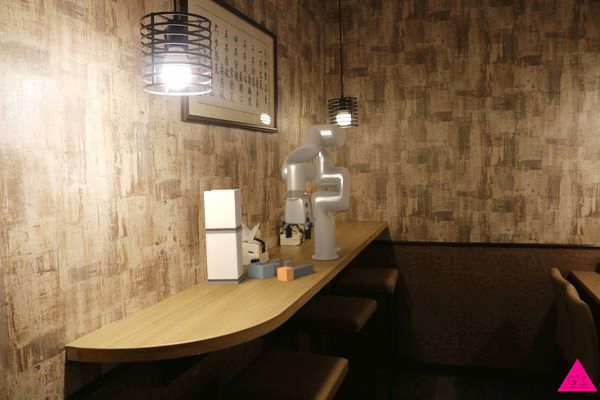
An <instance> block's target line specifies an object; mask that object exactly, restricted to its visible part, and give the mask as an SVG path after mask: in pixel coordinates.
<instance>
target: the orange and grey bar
mask: <svg viewBox="0 0 600 400" xmlns="http://www.w3.org/2000/svg"><path fill="white" fill-rule="evenodd" d="M277 273H278V275H277V281H282V282H291V281H294V280H295V279H298V278H302V277H305V276H306V277H307V276H309V275H313V274H314V264H313V263H312V264H311V263H303V264H299V265H297V266H291V267H284V266H282V267H281V266H280V268H277Z"/></svg>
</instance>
